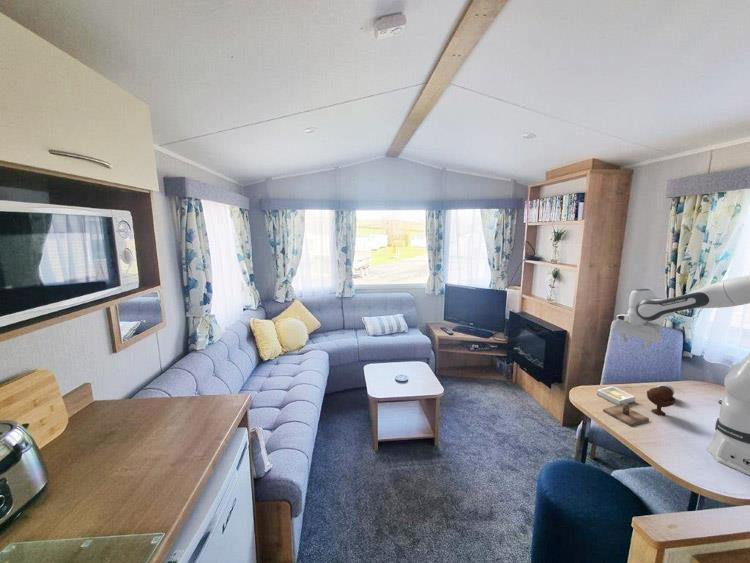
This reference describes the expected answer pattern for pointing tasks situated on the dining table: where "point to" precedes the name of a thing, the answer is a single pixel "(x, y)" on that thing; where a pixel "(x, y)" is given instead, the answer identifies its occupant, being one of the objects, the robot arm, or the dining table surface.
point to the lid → (626, 414)
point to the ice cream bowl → (661, 398)
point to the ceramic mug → (665, 385)
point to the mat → (622, 421)
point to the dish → (614, 400)
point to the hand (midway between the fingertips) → (634, 344)
